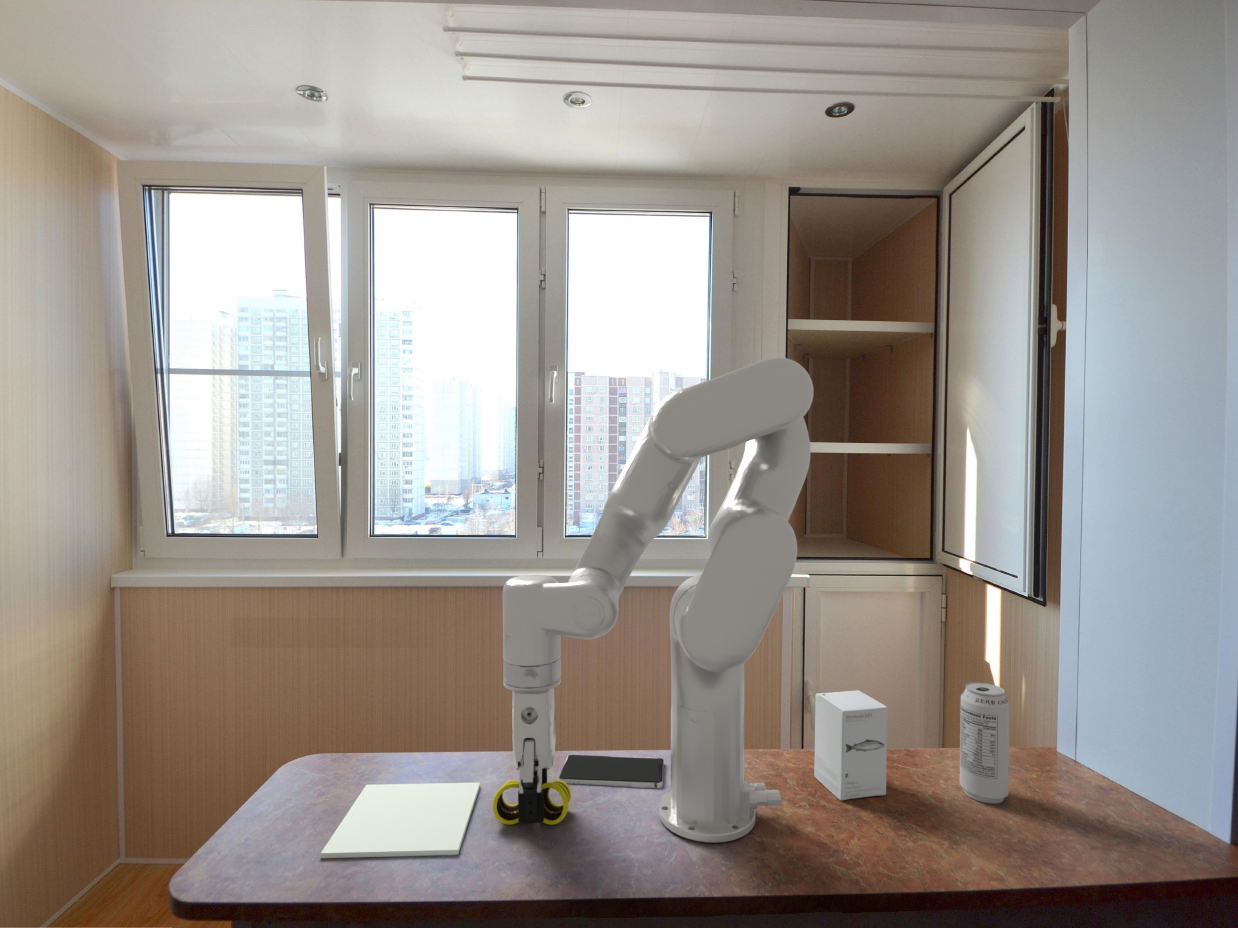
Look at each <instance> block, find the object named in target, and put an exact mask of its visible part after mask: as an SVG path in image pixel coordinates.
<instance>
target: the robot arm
mask: <svg viewBox="0 0 1238 928" xmlns="http://www.w3.org/2000/svg"><path fill="white" fill-rule="evenodd" d="M814 394H815V393H814V384H813V380H812V379H811V376H810V374H809V373H808V371H807V370H806V369H805V367H803V366H802V365H801V364H800V363H799V362H797V361H795V360H793V359H790V358H787V357H783V356H782V357H780V356H778V357H777V356H776V357H768V358H764V359H762V360H759V361H756V362H753V363H750V364H748V365H745V366H744V367H740V368H737V369H735V370H732V371H730V372H727V373H724V374H722V375H718V376H717V377H714V378H711V379H709V380H705V381H703V382H700V383H698V384H694V385H690V386H688V387H685V388H681V389H679V390H676V391H673V392H671V393H669V394H667V395H666V396H664V398H662V399H661V400H660V402H659V403H657V405H655V407H654V408H653V410H652V412H651V414H650V415H649V418H648V420H647V421H646V423H645V425H644V428H643V429H642V431H641V433H640V435H639V437H638V438H637V441H636V443H635V445H634V446H633V448H632V450H631V452H630V454H629V456H628V458H627V460H626V463H625V464H624V466H623V468H622V469H621V472H620V473H619V476H618V477H617V480H615V481H616V482H615V483H614V485H613V487H612V489H611V491H610V492H609V496H608V497H607V499H606V502H605V505H604V507H603V510H602V513H601V516H600V518H599V521H598V522H597V525H596V527H595V529H594V530H593V533H592V535H591V536H590V538H589V541H588V542H587V545H586V546H585V549H584V550H583V552H582V554H581V556H580V557H579V559H578V562H577V564H576V566H575V567H574V570H573V571H572V574H571V575H570V577H569V579H568V581H567V582H558V580H557V579H555V577H552V576H549V575H543V574H527V575H526V574H524V575H518V576H514V577H512V578H509V579H508V580H507V581H506V582H505V583H504V585H503V588H502V667H503V668H502V669H503V671H502V672H503V675H502V677H503V678H502V681H503V682H502V684H503V687H504V688H505V689H508V690H509V691H512V692H511V698H512V700H511V702H512V703H511V709H512V711H511V715H512V716H511V719H512V720H511V723H512V724H511V725H512V728H511V729H512V730H511V732H512V733H511V734H512V757H513V767H514V768H515V769H516V770H517V771H519V780H518V781H519V789H517V790H518V791H517V800H518V801H517V803H518V821H519V822H518V823H519V824H542V823H544V822H543V821H544V818H545V817H544V789H542V784H544V783H548V770H550V769H552V767H553V764H554V761H555V760H554V758H555V752H556V751H555V750H556V717H555V716H556V712H555V711H556V706H555V704H556V703H555V688H557V687H558V686H559V685H560V684H561V683H562V637H568V638H573V639H580V640H594V639H598V638H600V637H604V636H605V635H607V634H608V633H609V632H610V631H611V630H612V629H613V628H614V626H615V625H616V623H617V620H618V618H619V611H620V610H619V605H620V604H619V598H620V596H621V594H622V593H623V590H624V588H625V586H626V585H627V582H628V581H629V578H630V577H631V575H632V572H633V570H634V569H635V567H636V565H637V563H638V561H639V559H640V558H641V556H642V555H643V553H644V552H645V550H646V549H647V548H648V546H649V545H650V544H651V542H652V541H653V540H654V539H655V538H657V537H658V536H659V535H660V534H661V533H662V532H663V530H664V529H665V528H666V526H667V525H668V524H669V522H670V520H671V519H672V517H673V514H674V512H675V510H676V508H677V506H678V505H679V503H680V500H681V499H682V497H683V495H684V493H685V491H686V489H687V486H688V485H689V484H690V481H691V479H692V477H693V475H694V474H695V471H696V469H697V468H698V466H699V464H700V462H701V460H702V458H704V457H708V456H711V455H714V454H717V453H719V452H723V451H726V450H730V449H732V448H734V447H737V446H741V445H743V444H744V451H743V455H742V457H741V461H740V464H739V466H738V469H737V471H736V473H735V476H734V478H733V480H732V483H731V484H730V487H729V489H728V490H727V492H726V495H725V497H724V499H723V501H722V503H721V505H720V507H719V509H718V511H717V513H716V515H715V516H714V518H713V520H712V522H711V524H710V527H709V530H708V534H707V545H708V549H709V551H710V556H709V558H708V560H707V562H706V565H705V567H704V569H703V571H702V574H696V575H694V576H691V577H688V579H686V580H684V581H683V582H682V583H681V584H680V585H679V586H678V588H676V591H675V592H674V594H673V595H672V598H671V602H670V605H669V606H670V608H669V637H670V640H669V641H670V672H671V673H670V679H671V680H670V683H671V684H670V685H671V686H670V687H671V688H670V690H671V691H670V695H671V696H670V790H669V791H668V792H665V794H663V796H662V797H661V798H660V799H659V803H658V816H659V819H660V821H661V823H662V824H663V825H664V827H666V828H667V829H668V830H670V831H671V832H672V833H674V834H676V835H678V836H679V837H682V838H684V839H688V840H691V841H695V842H703V843H711V844H712V843H714V844H715V843H727V842H731V841H734V840H735V841H736V840H737V839H740V838H742V837H744V836H746V835H747V834H749V833H750V831H752V830H753V828H754V826H755V824H756V810H757V809H758V807H763V806H764V807H780V806H781V805H782V804H781V803H782V798H781V793H780V790H779V789H767V787H766V784H765V783H766V782H755V783H748V781H746V780H745V779H744V778H745V777H744V775H745V774H744V773H745V772H744V770H745V769H744V768H745V767H744V761H745V760H744V758H745V757H744V756H745V754H744V752H745V749H744V748H745V745H744V743H745V735H744V734H745V663H746V662H747V661H748V660H749V659H750V658H751V657H752V655H753V654H754V653H755V652H756V650H757V648H758V646H759V645H760V644H761V641H762V639H763V637H764V636H765V633H766V631H767V629H768V627H769V625H770V622H771V620H772V619H773V617H774V614H775V612H776V610H777V608H778V605H779V603H780V602H781V599H782V598H783V595H784V593H785V591H786V589H787V586H788V584H789V582H790V580H791V577H792V575H793V573H794V570H795V567H796V562H797V558H798V541H797V537H796V534H795V531H794V529H793V527H792V525H791V524H790V522H789V520H790V517H791V515H792V513H793V512H794V511H793V510H794V508H795V506H796V503H797V500H798V498H799V495H800V493H801V492H802V488H803V486H804V483H805V482H806V478H807V475H808V471H809V468H810V464H811V463H810V462H811V442H810V441H811V440H810V436H809V431H808V427H807V424H806V421H805V418H804V417H805V415H806V414H807V413H808V411H809V410H810V408H811V406H812V403H813V400H814Z"/></svg>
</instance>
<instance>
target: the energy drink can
mask: <svg viewBox="0 0 1238 928" xmlns="http://www.w3.org/2000/svg"><path fill="white" fill-rule="evenodd" d="M1005 693H1006V691H1005V689H1004V688H1002V687H1000V686H999V685H998V686H997V685H995V684H991V683H988V682H979V681H978V682H968V683H966V684H965V689H964V690H963V692H962V694H961V695H960V712H959V713H960V716H959V717H960V718H959V719H960V723H959V724H960V726H959V727H960V728H959V730H960V731H959V732H960V734H959V785H960V786H961V788H962V789H963V791H964V794H965V795H967V796H968V797H969V798H971V799H973V800H975V801H978V802H981V803H986V804H1001V803H1003V802H1004V801H1005V798H1006V797H1008V796H1009V794H1010V792H1009V791H1010V789H1009V787H1010V784H1009V783H1010V781H1009V780H1010V776H1009V775H1010V772H1009V771H1010V719H1011V718H1010V713H1011V712H1010V711H1011V708H1010V707H1011V705H1010V701H1009V700H1008V698H1007V697H1006V695H1005Z"/></svg>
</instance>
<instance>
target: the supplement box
mask: <svg viewBox="0 0 1238 928" xmlns="http://www.w3.org/2000/svg"><path fill="white" fill-rule="evenodd" d="M814 697H815V702H814V703H815V704H814V705H815V706H814V707H815V709H814V711H815V713H814V718H815V719H814V769H813V770H814V772H813V773H814V774H813V775H814V777H815V779H816V780H817V781H819V783H820V784H822V785H823V786H824V787H825V788H826V789H827V790H828V791H829V792H830V793H832V795H834V796H835V797H836V798H837V799H838V800H840V801H845V800H850V799H858V798H867V797H875V796H886V794H887V760H888V759H887V757H888V756H887V755H888V754H887V751H888V749H887V748H888V746H887V743H888V706H886V705H884V704H883V703H881V702H879V701H878V700H876V699H874V698H873V697H871V696H869V695H867V694H866V693H864V692H862V691H860V690H858V689H857V690H856V689H855V690H845V691H834V692H831V691H830V692H820V693H818V692H817V693H815V695H814Z"/></svg>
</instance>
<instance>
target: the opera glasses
mask: <svg viewBox="0 0 1238 928" xmlns="http://www.w3.org/2000/svg"><path fill="white" fill-rule="evenodd" d="M515 788H516V789H517V790H519V780H516V779H514V780H513V779H512V780H508V781H507V782H505V783H504V784H503V785H502V786H500V788H499V789H497V791H496V793H495V795H494V797H493V800H492V812H493V816H494V817H495V818H496V819H497V821H498V822H500V823H502V824H503V825H504V824H505V825H515V824H518V823H519V821H518V802H517V803H516V804H509V803H507V802H506V801H505V800H504V797H503V796H504V795H503V794H504V792H505V791H506V790H509V789H515ZM542 789H544V821H543V822H542V823H544V824H546V825H551V826H552V825H553V826H554V825H557V824H560V823H561V822H562V821H563V820H564V819H565V817H566V816H567V814H568V810H569V804H570V801H571V798H572V792H571V791H572V790H571V788H570V787H569V785H568V783H565V782H563V781H560V780H559V779H558V780H554V781H552V782H548V781H547V783H544V784H542ZM551 789H553V790H555V791H556V792H557V793H558V795H560V798H561V800H562V804H556V803H554V802H553V801H552V800H551V798H550V790H551Z"/></svg>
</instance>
